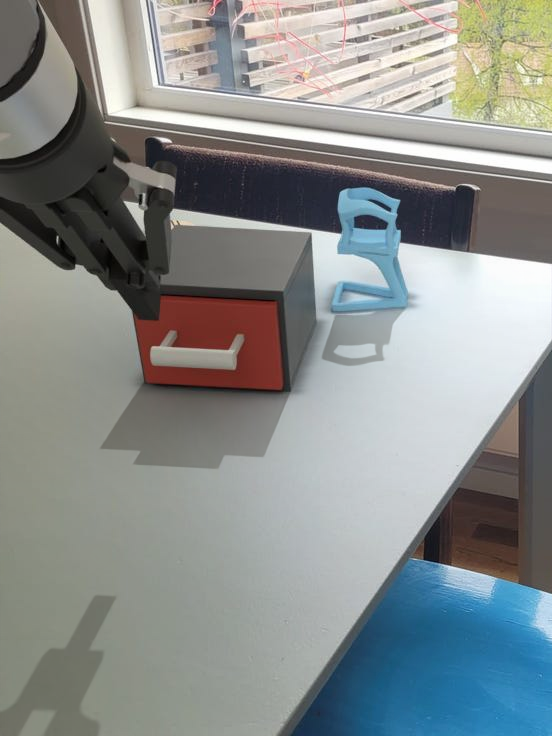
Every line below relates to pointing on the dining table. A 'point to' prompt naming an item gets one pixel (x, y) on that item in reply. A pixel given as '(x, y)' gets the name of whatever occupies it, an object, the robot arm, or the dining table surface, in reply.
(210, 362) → the red drawer
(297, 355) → the grey drawer unit
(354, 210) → the chair
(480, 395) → the dining table surface
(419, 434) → the dining table surface
